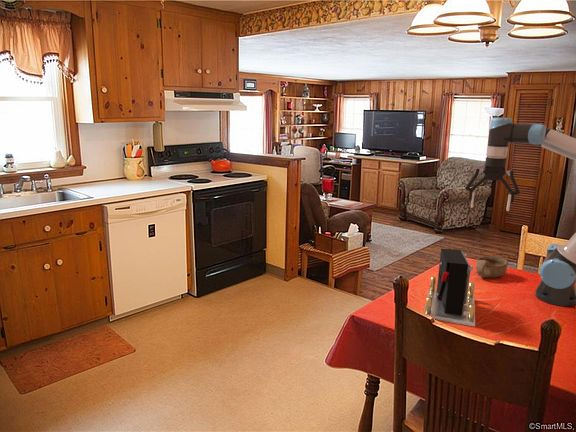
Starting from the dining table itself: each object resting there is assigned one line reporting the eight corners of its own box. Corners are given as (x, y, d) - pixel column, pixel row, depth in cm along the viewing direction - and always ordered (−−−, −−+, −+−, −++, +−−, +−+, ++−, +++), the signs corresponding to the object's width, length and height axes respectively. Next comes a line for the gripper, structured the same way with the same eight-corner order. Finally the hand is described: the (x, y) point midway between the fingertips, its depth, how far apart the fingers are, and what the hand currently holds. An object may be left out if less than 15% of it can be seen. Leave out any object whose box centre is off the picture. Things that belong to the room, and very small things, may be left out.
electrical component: (467, 315, 167) (474, 264, 163) (439, 312, 169) (444, 262, 165) (460, 296, 184) (466, 250, 179) (434, 294, 186) (439, 248, 181)
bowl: (503, 283, 200) (499, 261, 200) (471, 283, 209) (467, 263, 209) (513, 272, 214) (509, 251, 213) (482, 273, 223) (478, 253, 222)
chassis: (473, 299, 186) (475, 282, 184) (474, 326, 162) (477, 307, 160) (428, 292, 192) (430, 275, 190) (422, 317, 168) (424, 298, 167)
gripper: (530, 158, 179) (522, 210, 184) (463, 154, 187) (457, 204, 192) (532, 160, 172) (524, 213, 177) (462, 156, 181) (457, 207, 186)
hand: (489, 209), depth 185 cm, fingers open, 13 cm apart
